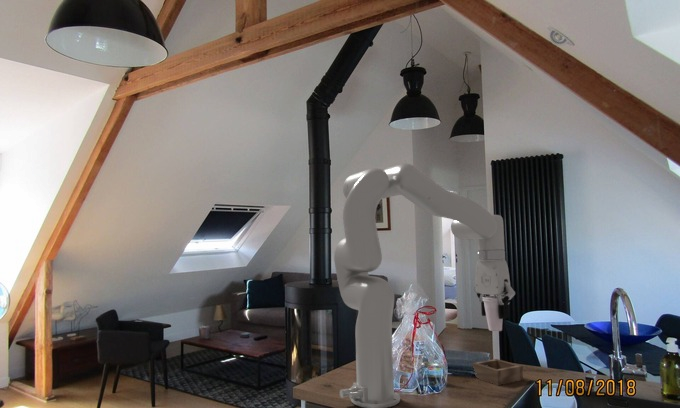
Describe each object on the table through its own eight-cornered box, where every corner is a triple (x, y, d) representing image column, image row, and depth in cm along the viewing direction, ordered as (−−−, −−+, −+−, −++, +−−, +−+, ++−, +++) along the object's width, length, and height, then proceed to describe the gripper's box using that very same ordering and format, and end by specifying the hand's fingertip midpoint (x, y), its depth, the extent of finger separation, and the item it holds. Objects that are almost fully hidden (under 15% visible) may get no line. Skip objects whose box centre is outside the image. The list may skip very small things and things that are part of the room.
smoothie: (509, 331, 136) (506, 282, 138) (487, 332, 136) (484, 283, 138) (502, 328, 142) (499, 281, 144) (481, 328, 143) (478, 282, 144)
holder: (498, 385, 131) (497, 370, 132) (472, 376, 140) (472, 363, 141) (523, 380, 136) (522, 366, 136) (497, 372, 145) (496, 358, 145)
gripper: (462, 256, 147) (464, 314, 145) (504, 256, 132) (508, 322, 130) (480, 255, 150) (482, 312, 149) (523, 256, 135) (527, 319, 134)
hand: (494, 316), depth 140 cm, fingers closed on smoothie, 6 cm apart
